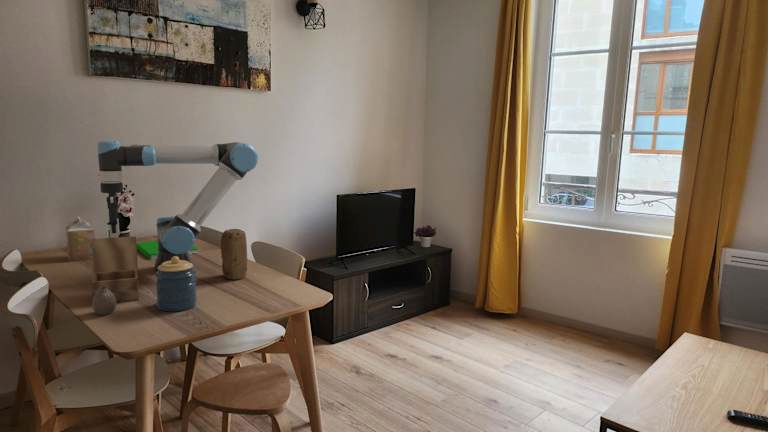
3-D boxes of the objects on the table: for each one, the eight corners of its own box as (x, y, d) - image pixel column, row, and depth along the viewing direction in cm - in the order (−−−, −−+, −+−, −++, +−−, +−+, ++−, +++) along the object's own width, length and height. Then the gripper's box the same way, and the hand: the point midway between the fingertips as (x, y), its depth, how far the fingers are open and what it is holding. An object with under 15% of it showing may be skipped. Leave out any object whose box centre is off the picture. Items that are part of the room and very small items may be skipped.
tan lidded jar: (96, 259, 231) (93, 218, 228) (69, 262, 226) (66, 220, 222) (94, 254, 240) (91, 215, 237) (68, 257, 234) (64, 216, 231)
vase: (100, 318, 161) (98, 292, 160) (88, 314, 165) (86, 288, 163) (121, 312, 167) (119, 287, 166) (109, 308, 171) (107, 283, 169)
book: (181, 243, 269) (180, 238, 268) (198, 254, 247) (198, 248, 247) (135, 248, 255) (134, 243, 255) (149, 260, 233) (149, 254, 233)
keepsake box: (138, 290, 190) (137, 269, 188) (138, 300, 179) (137, 278, 178) (95, 294, 184) (94, 273, 182) (93, 305, 173) (91, 282, 172)
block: (249, 278, 209) (248, 230, 206) (233, 281, 204) (232, 233, 200) (235, 272, 216) (234, 227, 213) (219, 276, 211) (217, 229, 207)
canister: (156, 314, 166) (153, 262, 163) (156, 301, 178) (154, 253, 175) (198, 309, 171) (196, 259, 168) (196, 298, 183) (194, 250, 180)
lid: (137, 268, 188) (137, 268, 190) (136, 236, 189) (136, 236, 190) (93, 272, 182) (93, 272, 183) (91, 239, 183) (92, 239, 184)
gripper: (101, 179, 200) (105, 232, 203) (98, 185, 178) (102, 245, 182) (123, 178, 203) (126, 231, 207) (121, 185, 182) (125, 243, 185)
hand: (115, 238), depth 194 cm, fingers open, 12 cm apart
